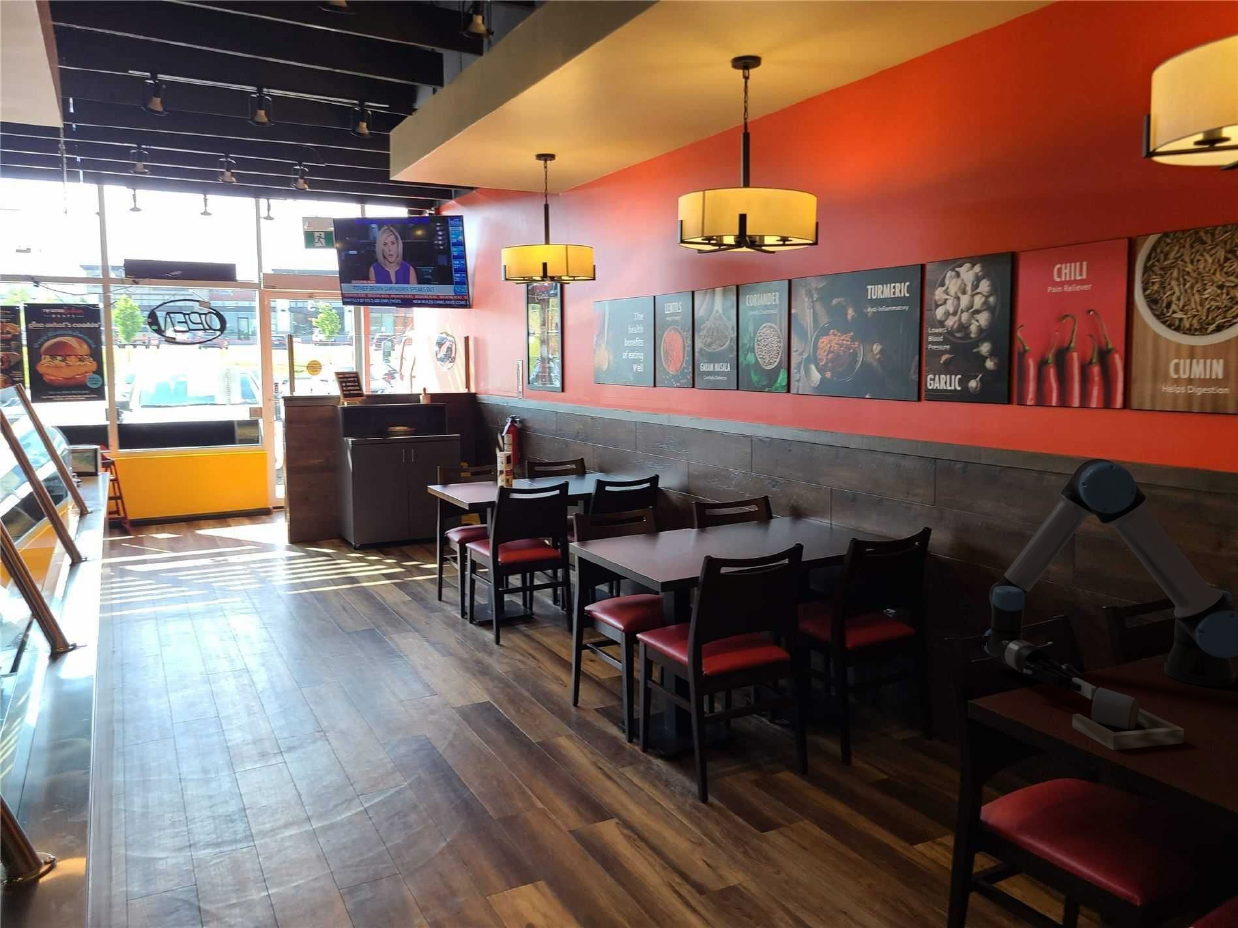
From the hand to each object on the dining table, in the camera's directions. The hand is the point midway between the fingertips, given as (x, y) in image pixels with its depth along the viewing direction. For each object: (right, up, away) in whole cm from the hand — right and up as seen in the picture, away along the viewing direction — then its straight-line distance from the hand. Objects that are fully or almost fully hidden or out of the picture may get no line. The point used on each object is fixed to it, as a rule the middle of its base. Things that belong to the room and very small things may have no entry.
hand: (1093, 693), depth 195 cm
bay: (+3, -7, -7) cm, 10 cm away
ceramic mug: (+4, -7, -1) cm, 8 cm away
